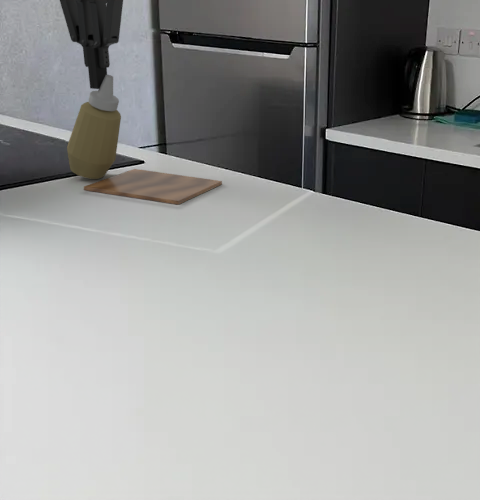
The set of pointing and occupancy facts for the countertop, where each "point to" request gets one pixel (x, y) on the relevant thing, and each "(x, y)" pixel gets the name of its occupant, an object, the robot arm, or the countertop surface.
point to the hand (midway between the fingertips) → (99, 87)
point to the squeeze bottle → (95, 133)
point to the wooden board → (154, 186)
